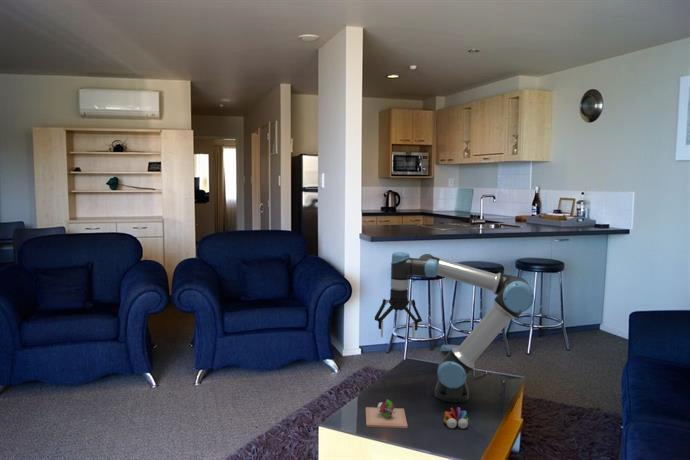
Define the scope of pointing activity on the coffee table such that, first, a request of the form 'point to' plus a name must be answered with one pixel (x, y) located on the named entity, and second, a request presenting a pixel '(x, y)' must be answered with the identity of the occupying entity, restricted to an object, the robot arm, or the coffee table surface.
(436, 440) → the coffee table surface
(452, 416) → the colourful small pieces
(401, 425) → the tile
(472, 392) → the coffee table surface
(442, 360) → the robot arm
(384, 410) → the geometric puzzle
